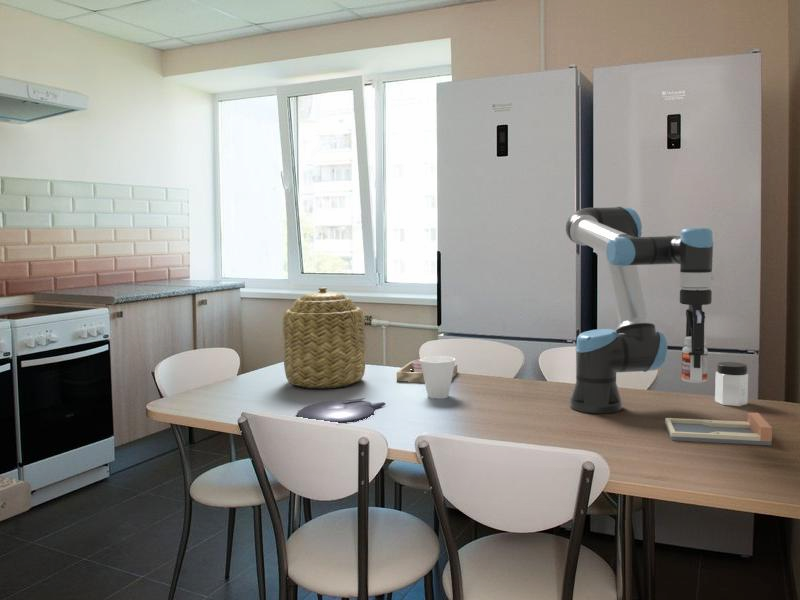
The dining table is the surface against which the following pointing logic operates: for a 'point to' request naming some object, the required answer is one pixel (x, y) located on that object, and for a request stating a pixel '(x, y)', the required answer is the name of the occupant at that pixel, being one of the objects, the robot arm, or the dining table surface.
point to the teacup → (416, 365)
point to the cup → (437, 375)
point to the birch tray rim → (414, 374)
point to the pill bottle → (686, 362)
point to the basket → (324, 341)
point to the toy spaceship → (340, 410)
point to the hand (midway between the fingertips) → (693, 377)
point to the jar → (731, 384)
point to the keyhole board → (721, 430)
